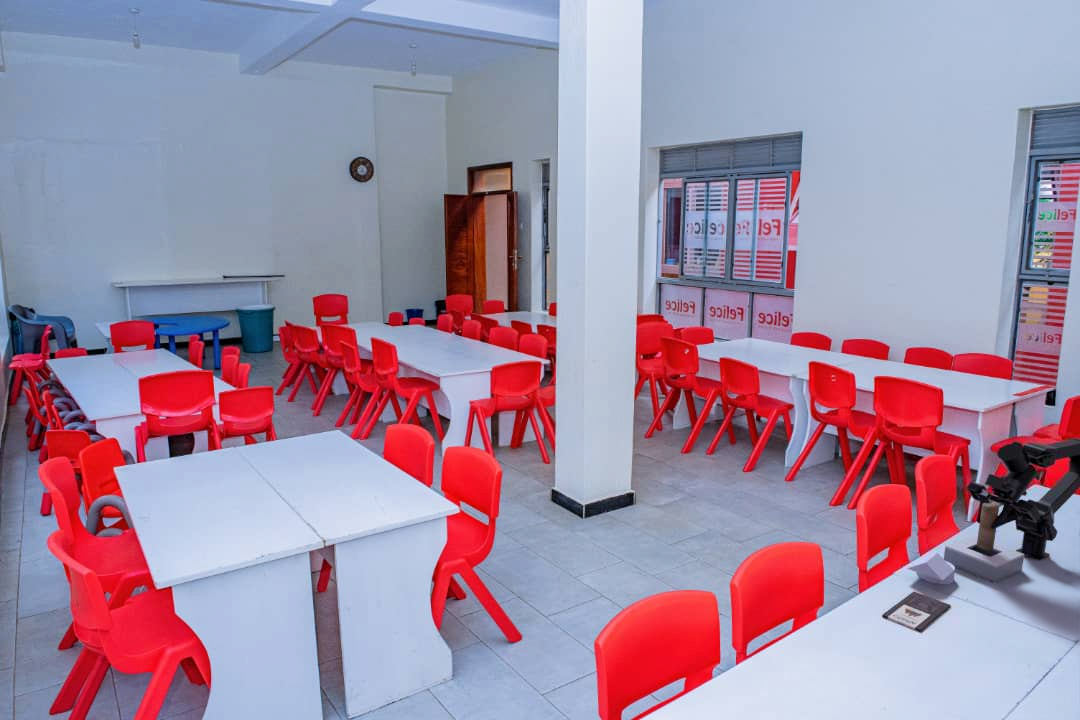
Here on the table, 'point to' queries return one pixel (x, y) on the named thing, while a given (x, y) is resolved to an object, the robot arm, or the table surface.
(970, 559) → the box
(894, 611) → the chocolate bar
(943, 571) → the wedge on round base
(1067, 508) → the table surface
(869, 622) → the table surface
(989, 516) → the peg
